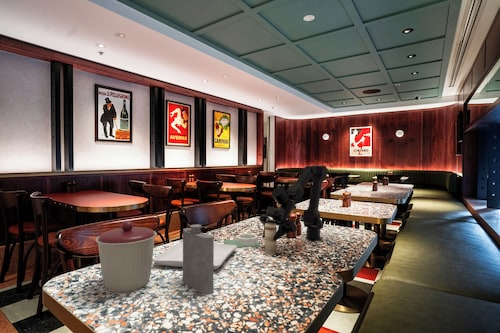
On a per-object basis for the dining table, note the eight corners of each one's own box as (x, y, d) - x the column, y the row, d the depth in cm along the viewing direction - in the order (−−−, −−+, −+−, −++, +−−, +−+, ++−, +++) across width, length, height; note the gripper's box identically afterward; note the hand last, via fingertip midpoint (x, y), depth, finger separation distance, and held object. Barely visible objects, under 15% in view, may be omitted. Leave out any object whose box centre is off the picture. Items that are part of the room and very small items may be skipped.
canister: (82, 299, 82) (82, 227, 81) (114, 274, 100) (114, 215, 99) (143, 300, 81) (143, 228, 81) (164, 275, 99) (164, 216, 99)
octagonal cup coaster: (251, 237, 148) (251, 231, 148) (264, 245, 135) (264, 238, 134) (219, 242, 140) (219, 235, 140) (229, 250, 127) (229, 242, 127)
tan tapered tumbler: (272, 250, 127) (272, 222, 126) (278, 254, 122) (278, 224, 122) (262, 252, 124) (262, 223, 124) (268, 255, 120) (268, 225, 119)
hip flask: (215, 293, 85) (215, 228, 85) (204, 297, 83) (204, 230, 82) (189, 277, 97) (189, 220, 97) (178, 280, 94) (178, 222, 94)
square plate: (219, 275, 99) (219, 264, 99) (149, 269, 105) (149, 259, 105) (237, 252, 126) (237, 243, 126) (181, 248, 131) (181, 240, 131)
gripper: (261, 197, 132) (244, 224, 125) (293, 201, 119) (276, 232, 111) (272, 212, 138) (256, 238, 130) (303, 217, 124) (288, 247, 117)
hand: (268, 239), depth 122 cm, fingers open, 6 cm apart
